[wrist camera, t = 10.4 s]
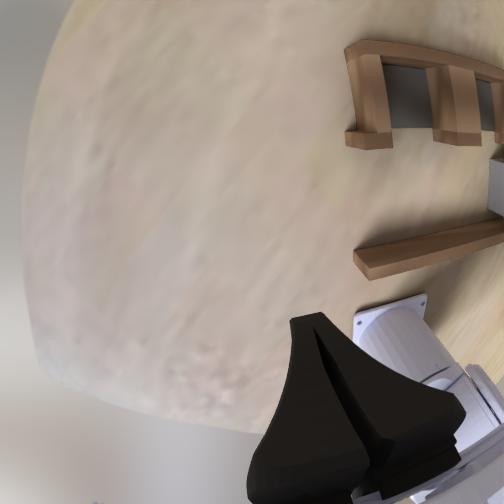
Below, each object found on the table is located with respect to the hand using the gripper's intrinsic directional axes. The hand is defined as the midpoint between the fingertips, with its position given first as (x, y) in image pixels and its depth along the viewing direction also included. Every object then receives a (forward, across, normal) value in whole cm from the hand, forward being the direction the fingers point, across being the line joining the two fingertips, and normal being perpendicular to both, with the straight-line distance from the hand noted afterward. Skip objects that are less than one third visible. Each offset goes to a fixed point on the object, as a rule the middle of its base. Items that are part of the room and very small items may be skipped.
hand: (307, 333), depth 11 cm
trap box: (+10, -19, -5) cm, 22 cm away
